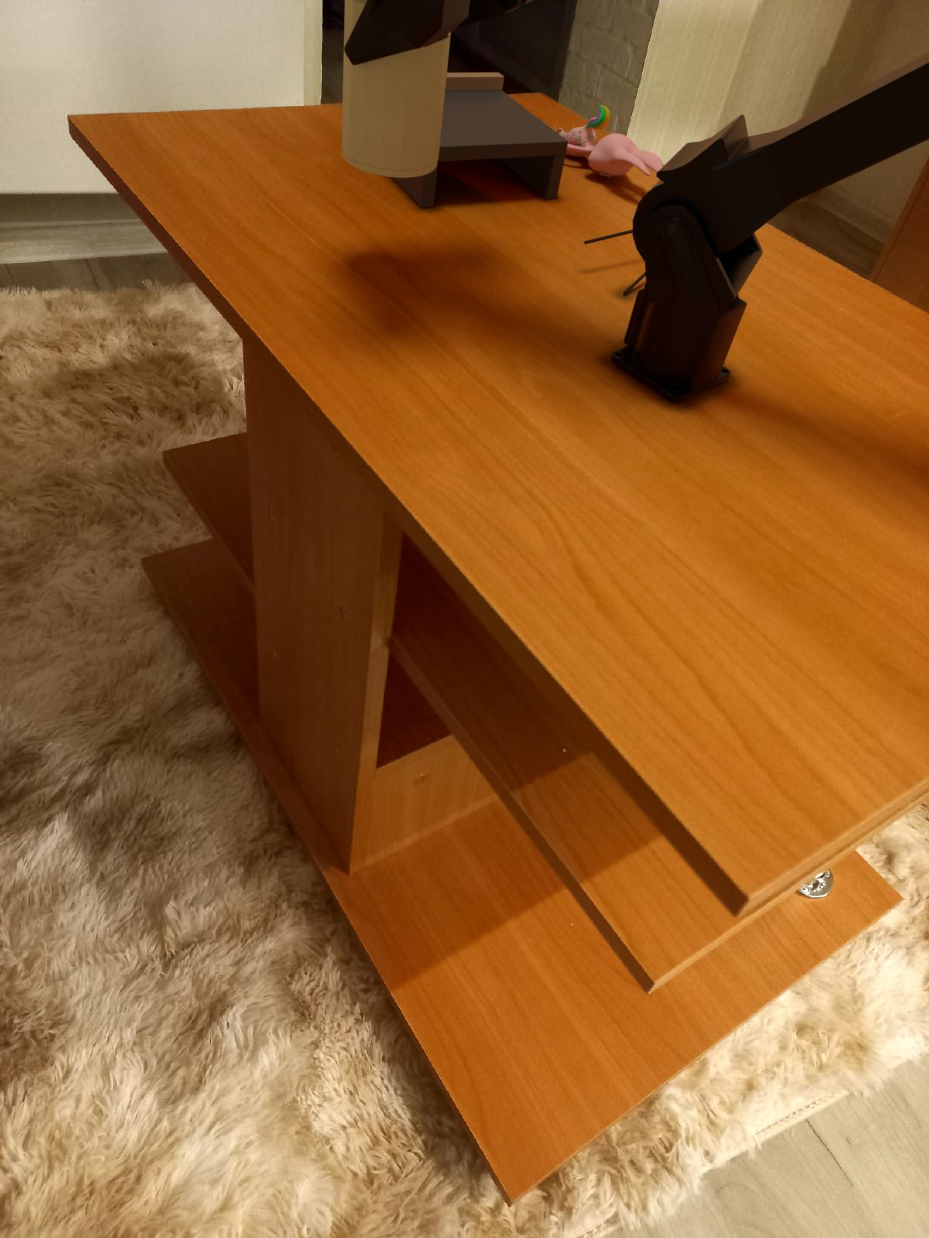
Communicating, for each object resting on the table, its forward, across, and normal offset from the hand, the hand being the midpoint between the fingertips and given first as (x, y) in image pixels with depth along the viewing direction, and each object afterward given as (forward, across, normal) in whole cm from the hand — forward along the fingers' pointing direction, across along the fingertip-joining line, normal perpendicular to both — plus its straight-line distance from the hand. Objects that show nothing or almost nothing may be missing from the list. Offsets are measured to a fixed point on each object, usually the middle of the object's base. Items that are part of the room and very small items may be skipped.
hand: (377, 46), depth 58 cm
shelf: (+12, -22, +8) cm, 26 cm away
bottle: (+4, 0, +6) cm, 7 cm away
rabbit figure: (+4, -32, +16) cm, 36 cm away
